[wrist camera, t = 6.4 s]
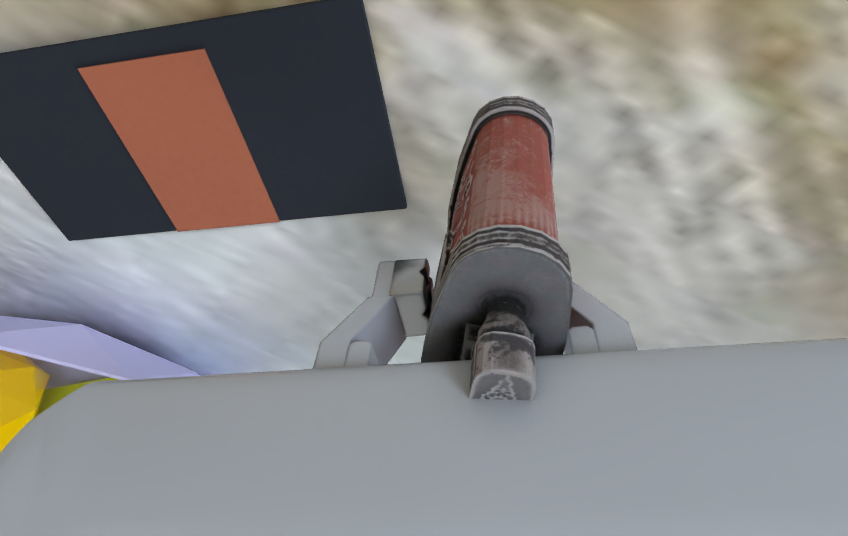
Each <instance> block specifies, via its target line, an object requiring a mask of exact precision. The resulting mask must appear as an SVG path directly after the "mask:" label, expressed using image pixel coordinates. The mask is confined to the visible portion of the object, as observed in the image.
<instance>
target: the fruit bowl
mask: <svg viewBox="0 0 848 536" xmlns="http://www.w3.org/2000/svg"><path fill="white" fill-rule="evenodd" d="M183 376H199V375H198V374H197V372H195V371H192V370H190V369H188V368H185V367H183V366H180V365H178V364H176V363H173V362H171V361H168V360H166V359H164V358H161V357H159V356H156V355H154V354H152V353H149V352H147V351H144V350H142V349H140V348H137V347H135V346H132V345H130V344H128V343H125V342H123V341H120V340H118V339H116V338H113V337H111V336H108V335H106V334H104V333H101V332H99V331H96V330H94V329H92V328H89V327H87V326H84V325H82V324H75V323H66V322H56V321H47V320H38V319H28V318H19V317H9V316H0V453H1V451H2V450H3V449H4V448H5V447H6V445H7V444H8V443H9V442H10V441H11V440H12V439H13V437H14V436H15V435H16V434H17V433H18V432H19V431H20V430H21V429H22V428H23V427H24V426H25V425H26V424H27V423H28V422H29V421H31V420H32V419H33V418H35V417H36V416H38V415H39V414H40V413H42V412H43V411H45V410H46V409H48V408H49V407H51V406H52V405H54V404H55V403H57V402H58V401H60V400H61V399H63V398H64V397H66V396H67V395H69V394H71V393H72V392H74V391H76V390H77V389H79V388H81V387H82V386H84V385H86V384H89V383H92V382H97V381H109V380H131V379H149V378H166V377H183Z"/></svg>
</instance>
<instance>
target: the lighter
mask: <svg viewBox="0 0 848 536" xmlns="http://www.w3.org/2000/svg"><path fill="white" fill-rule="evenodd" d="M554 146H555V140H554V132H553V125H552V119H551V117H550V116H549V114H548V113H547V111H546V110H545V108H544V107H542V106H541V105H539V104H538V103H536V102H535V101H533V100H530V99H527V98H523V97H520V96H506V97H501V98H498V99H495V100H492V101H490V102H489V103H487V104H486V105H484V106H483V107H482V108H480V110H479V111H478V113H477V114H476V116H475V117H474V119H473V122H472V125H471V127H470V130H469V133H468V136H467V138H466V141H465V144H464V147H463V149H462V152H461V155H460V158H459V161H458V166H457V171H456V175H455V180H454V184H453V189H452V193H451V198H450V204H449V209H448V228H447V233H446V235H445V240H444V244H443V249H442V253H441V258H440V262H439V267H438V271H437V276H436V282H435V287H434V293H433V298H432V306H431V314H430V318H429V323H428V327H427V331H426V336H425V341H424V346H423V352H422V357H421V363H427V362H444V361H461V360H472V362H471V378H470V390H469V399H500V400H533V399H534V396H535V393H536V362H535V356H547V355H563V351H564V348H565V345H566V342H567V338H568V330H569V322H570V313H571V305H572V296H573V285H572V277H571V269H570V263H569V257H568V253H567V252H566V251H565V249H564V248H563V247H562V246H561V244H560V243H559V242H558V233H557V224H556V214H555V204H554V194H553V185H552V176H553V161H554Z"/></svg>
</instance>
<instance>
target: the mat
mask: <svg viewBox="0 0 848 536" xmlns="http://www.w3.org/2000/svg"><path fill="white" fill-rule="evenodd" d="M0 157H1V158H2V160H3V161H4V162H5V163H6V164H7V166H8V167H9V168H10V169H11V171H12V172H13V173H14V174H15V175H16V177H17V178H18V179H19V180H20V181H21V183H22V184H23V185H24V186H25V188H26V189H27V190H28V191H29V192H30V194H31V195H32V196H33V197H34V199H35V200H36V201H37V202H38V203H39V205H40V206H41V207H42V208H43V210H44V211H45V212H46V213H47V214H48V216H49V217H50V218H51V219H52V221H53V222H54V223H55V224H56V225H57V227H58V228H59V229H60V230H61V232H62V233H63V234H64V235H65V236H66V238H67V239H68V240H69V241H72V240H83V239H93V238H104V237H114V236H124V235H135V234H145V233H156V232H166V231H178V232H179V231H189V230H200V229H210V228H221V227H231V226H241V225H252V224H262V223H273V222H279V221H281V220H291V219H302V218H312V217H322V216H333V215H343V214H354V213H364V212H375V211H385V210H395V209H406V208H407V203H406V198H405V194H404V189H403V184H402V180H401V175H400V170H399V166H398V161H397V157H396V152H395V147H394V143H393V138H392V133H391V129H390V124H389V119H388V115H387V110H386V106H385V101H384V96H383V92H382V87H381V82H380V78H379V73H378V69H377V64H376V59H375V55H374V50H373V45H372V41H371V36H370V31H369V27H368V22H367V18H366V13H365V8H364V4H363V0H320V1H314V2H308V3H302V4H296V5H290V6H284V7H278V8H272V9H265V10H259V11H253V12H247V13H241V14H235V15H229V16H223V17H217V18H211V19H205V20H199V21H193V22H187V23H181V24H175V25H169V26H162V27H156V28H150V29H144V30H138V31H132V32H126V33H120V34H114V35H108V36H102V37H96V38H90V39H84V40H78V41H72V42H66V43H60V44H53V45H47V46H41V47H35V48H29V49H23V50H17V51H11V52H5V53H0Z"/></svg>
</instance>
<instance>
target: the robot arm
mask: <svg viewBox="0 0 848 536" xmlns="http://www.w3.org/2000/svg"><path fill="white" fill-rule="evenodd" d="M429 272H430V267H429V263H428V260H427V258H425V259H411V260H396V261H386V262H380V264H379V265H378V270H377V275H376V280H375V285H374V290H373V295H372V297H368V298H367V299H366V300H365V301H364V302H363V303H361V304H360V305H359V306H358V307H357V308H356V309H355V310H354V311H353V312H352V313H351V314H350V315H349V316H348V317H347V318H346V319H345V320H343V321H342V322H341V323H340V324H339V325H338V326H337V327H336V328H335V329H334V330H333V331H332V332H331V333H330V334H329V335H328V336H327V337H326V338H324V339H323V340H322V341H321V342H320V345H319V349H318V352H317V356H316V359H315V363H314V366H313V369H305V370H288V371H271V372H253V373H236V374H218V375H201V376H183V377H166V378H149V379H131V380H109V381H97V382H92V383H89V384H86V385H84V386H82V387H81V388H79V389H77V390H76V391H74V392H72V393H71V394H69V395H67V396H66V397H64V398H63V399H61V400H60V401H58V402H57V403H55V404H54V405H52V406H51V407H49V408H48V409H46V410H45V411H43V412H42V413H40V414H39V415H38V416H36V417H35V418H33V419H32V420H31V421H29V422H28V423H27V424H26V425H25V426H24V427H23V428H22V429H21V430H20V431H19V432H18V433H17V434H16V435H15V436H14V437H13V439H12V440H11V441H10V442H9V443H8V444H7V445H6V447H5V448H4V449H3V450H2V451H1V453H0V536H848V338H839V339H822V340H805V341H788V342H771V343H754V344H736V345H719V346H702V347H684V348H667V349H650V350H637V347H636V344H635V342H634V339H633V336H632V333H631V330H630V327H629V324H628V322H627V321H625V320H624V319H623V318H621V317H620V316H619V315H617V314H616V313H615V312H613V311H612V310H611V309H609V308H608V307H606V306H605V305H604V304H602V303H601V302H600V301H598V300H597V299H596V298H594V297H593V296H592V295H590V294H589V293H588V292H586V291H585V290H584V289H582V288H581V287H580V286H578V285H577V284H576V283H574V282H573V281H572V285H573V296H572V305H571V313H570V322H569V330H568V338H567V342H566V345H565V348H564V352H565V353H566V354H565V355H547V356H535V362H536V393H535V396H534V399H533V400H500V399H469V390H470V378H471V362H472V360H461V361H444V362H427V363H410V364H393V365H387V364H388V362H389V361H390V359H391V358H392V357H393V355H394V354H395V353H396V351H397V350H398V349H399V347H400V346H401V345H402V343H403V342H404V341H405V339H406V337H409V336H419V335H426V331H427V327H428V323H429V318H430V314H431V306H432V298H433V293H434V287H433V281H432V278H430V277H429Z"/></svg>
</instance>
